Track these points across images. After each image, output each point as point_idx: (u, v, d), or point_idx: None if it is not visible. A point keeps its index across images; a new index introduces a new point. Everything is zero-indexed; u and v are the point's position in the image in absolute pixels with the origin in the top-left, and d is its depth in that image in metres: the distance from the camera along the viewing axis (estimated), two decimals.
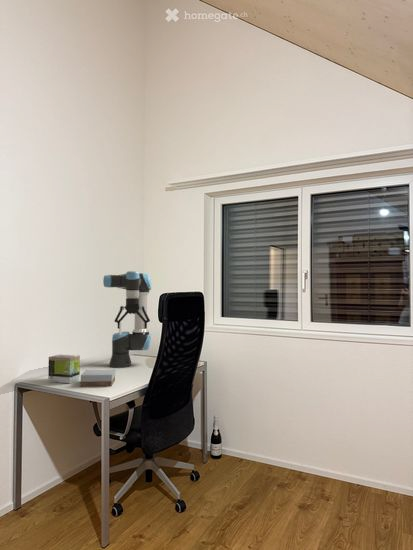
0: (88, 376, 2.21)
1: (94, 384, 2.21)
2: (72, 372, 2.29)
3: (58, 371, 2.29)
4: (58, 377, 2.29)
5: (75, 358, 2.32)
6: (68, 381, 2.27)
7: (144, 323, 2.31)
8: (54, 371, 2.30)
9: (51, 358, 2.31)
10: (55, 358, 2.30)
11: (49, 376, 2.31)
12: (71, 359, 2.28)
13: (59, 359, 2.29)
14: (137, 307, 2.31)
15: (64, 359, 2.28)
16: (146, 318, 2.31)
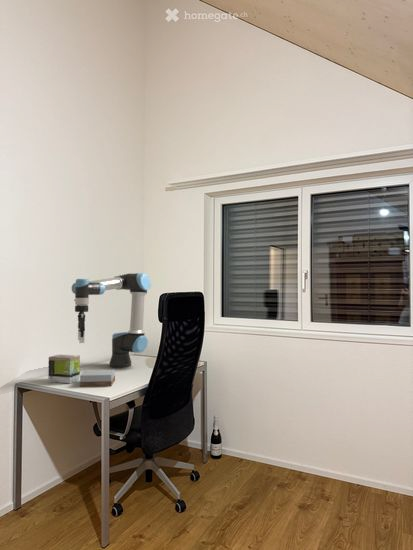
0: (88, 376, 2.21)
1: (94, 384, 2.21)
2: (72, 372, 2.29)
3: (58, 371, 2.29)
4: (58, 377, 2.29)
5: (75, 358, 2.32)
6: (68, 381, 2.27)
7: (79, 331, 2.26)
8: (54, 371, 2.30)
9: (51, 358, 2.31)
10: (55, 358, 2.30)
11: (49, 376, 2.31)
12: (71, 359, 2.28)
13: (59, 359, 2.29)
14: (79, 314, 2.30)
15: (64, 359, 2.28)
16: (80, 326, 2.25)
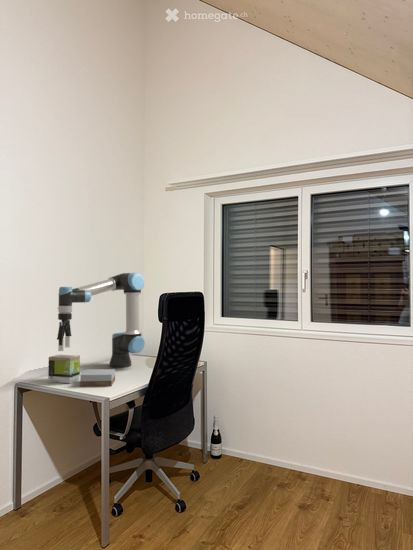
0: (88, 376, 2.21)
1: (94, 383, 2.21)
2: (72, 372, 2.29)
3: (58, 371, 2.29)
4: (58, 377, 2.29)
5: (75, 358, 2.32)
6: (68, 381, 2.27)
7: (58, 339, 2.27)
8: (54, 371, 2.30)
9: (51, 358, 2.31)
10: (55, 358, 2.30)
11: (49, 376, 2.31)
12: (71, 359, 2.28)
13: (59, 359, 2.29)
14: None
15: (64, 359, 2.28)
16: (58, 334, 2.26)
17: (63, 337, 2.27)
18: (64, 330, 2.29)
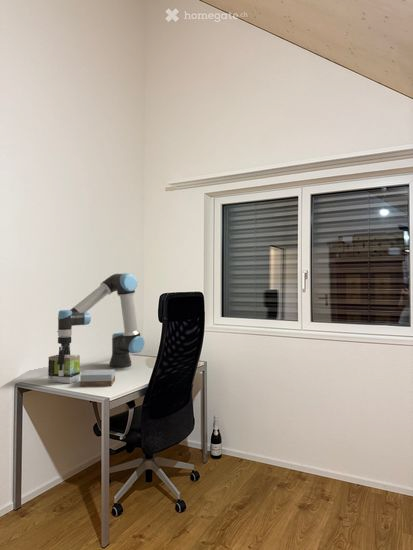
0: (88, 376, 2.21)
1: (94, 383, 2.21)
2: (72, 371, 2.29)
3: (58, 371, 2.29)
4: (58, 377, 2.29)
5: (75, 358, 2.32)
6: (68, 381, 2.27)
7: (58, 364, 2.27)
8: (54, 371, 2.29)
9: (51, 358, 2.31)
10: (55, 358, 2.30)
11: (49, 376, 2.31)
12: (71, 359, 2.28)
13: None
14: None
15: (64, 359, 2.28)
16: (58, 359, 2.26)
17: (63, 362, 2.28)
18: (64, 354, 2.29)
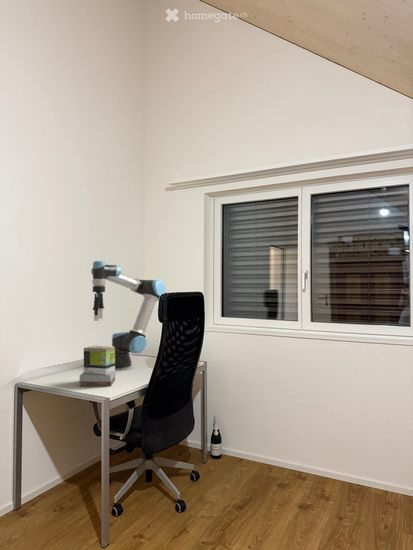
0: (87, 376, 2.21)
1: (93, 384, 2.21)
2: (108, 363, 2.24)
3: (94, 362, 2.23)
4: (94, 368, 2.23)
5: (111, 349, 2.26)
6: (104, 372, 2.21)
7: (94, 310, 2.41)
8: (90, 362, 2.24)
9: (86, 349, 2.26)
10: (90, 349, 2.25)
11: (84, 367, 2.26)
12: (107, 350, 2.23)
13: (95, 350, 2.24)
14: None
15: (100, 350, 2.23)
16: (94, 305, 2.40)
17: (98, 308, 2.42)
18: (99, 301, 2.44)
